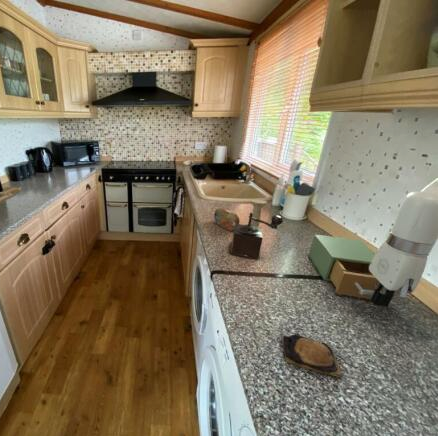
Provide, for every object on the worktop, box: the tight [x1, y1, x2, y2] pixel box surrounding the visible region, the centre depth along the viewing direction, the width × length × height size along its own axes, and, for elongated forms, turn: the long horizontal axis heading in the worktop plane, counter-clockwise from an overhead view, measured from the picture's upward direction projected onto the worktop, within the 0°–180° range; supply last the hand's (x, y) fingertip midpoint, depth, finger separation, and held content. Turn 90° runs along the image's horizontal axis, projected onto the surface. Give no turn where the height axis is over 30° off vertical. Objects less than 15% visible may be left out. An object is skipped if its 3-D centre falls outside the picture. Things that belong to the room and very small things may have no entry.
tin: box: [213, 208, 241, 231], centre depth 118 cm, size 15×3×8 cm, turn 25°
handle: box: [250, 199, 267, 227], centre depth 112 cm, size 5×6×15 cm
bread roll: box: [280, 333, 343, 378], centre depth 55 cm, size 11×8×4 cm
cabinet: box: [308, 234, 376, 282], centre depth 85 cm, size 17×15×9 cm
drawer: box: [329, 259, 394, 300], centre depth 75 cm, size 20×13×7 cm, turn 164°
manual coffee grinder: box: [230, 212, 284, 260], centre depth 94 cm, size 16×11×18 cm
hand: (378, 303), depth 65 cm, fingers closed
